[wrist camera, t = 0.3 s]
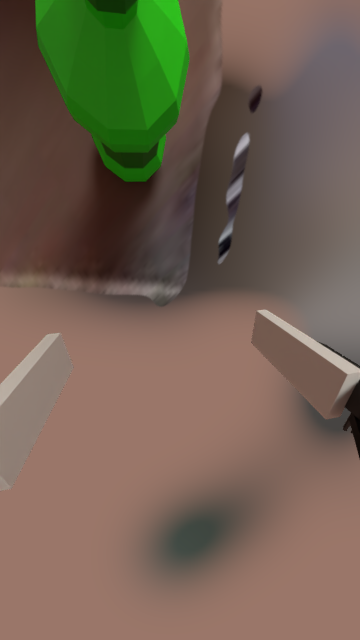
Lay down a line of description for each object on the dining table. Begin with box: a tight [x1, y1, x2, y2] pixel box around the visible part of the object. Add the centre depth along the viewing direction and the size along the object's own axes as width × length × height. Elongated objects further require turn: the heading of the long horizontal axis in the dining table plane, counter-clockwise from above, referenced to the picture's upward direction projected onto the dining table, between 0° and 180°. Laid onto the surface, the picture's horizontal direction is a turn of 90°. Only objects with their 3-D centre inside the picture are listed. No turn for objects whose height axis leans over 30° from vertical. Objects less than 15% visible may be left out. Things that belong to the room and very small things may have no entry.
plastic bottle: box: [35, 0, 190, 182], centre depth 17 cm, size 10×10×25 cm
